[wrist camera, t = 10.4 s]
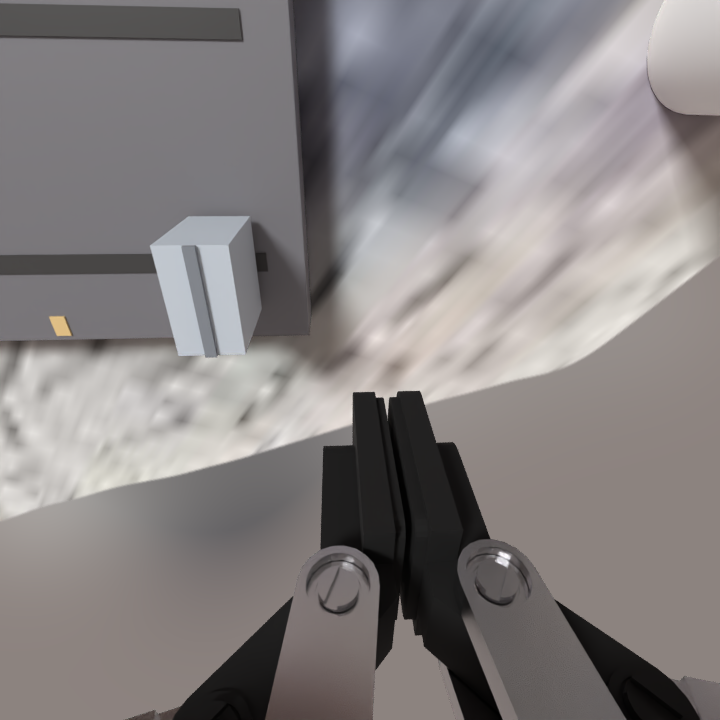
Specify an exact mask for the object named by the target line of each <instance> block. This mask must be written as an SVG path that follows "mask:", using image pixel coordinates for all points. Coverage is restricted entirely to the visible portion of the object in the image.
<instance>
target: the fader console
mask: <svg viewBox="0 0 720 720" xmlns="http://www.w3.org/2000/svg"><path fill="white" fill-rule="evenodd" d="M188 216H250V219H251V227H252V235H253V243H254V251H255V258H256V266H257V274H258V282H259V290H260V298H261V306H262V310H261V312H260V315H259V318H258V321H257V324H256V327H255V329H254V332H253V335H252V336H289V335H309V333H310V323H311V314H312V313H311V296H310V279H309V262H308V245H307V228H306V211H305V194H304V177H303V160H302V143H301V126H300V109H299V92H298V75H297V58H296V41H295V24H294V6H293V0H0V341H19V340H73V339H127V338H174V336H173V332H172V329H171V325H170V321H169V317H168V313H167V309H166V305H165V302H164V298H163V294H162V290H161V286H160V282H159V279H158V275H157V271H156V267H155V263H154V259H153V255H152V252H151V248H150V245H151V244H153V243H154V242H155V241H157V240H158V239H159V238H161V237H162V236H163V235H165V234H166V233H167V232H168V231H170V230H171V229H172V228H174V227H175V226H176V225H178V224H179V223H180V222H182V221H183V220H184V219H186V218H187V217H188Z"/></svg>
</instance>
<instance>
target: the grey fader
mask: <svg viewBox="0 0 720 720" xmlns="http://www.w3.org/2000/svg"><path fill="white" fill-rule="evenodd" d="M150 248H151V252H152V255H153V259H154V263H155V267H156V271H157V275H158V279H159V282H160V286H161V290H162V294H163V298H164V302H165V305H166V309H167V313H168V317H169V321H170V325H171V329H172V332H173V336H174V340H175V344H176V348H177V352H178V356H192V355H205V357H217V356H218V355H240V354H246V352H247V349H248V346H249V344H250V341H251V338H252V335H253V332H254V329H255V327H256V324H257V321H258V318H259V315H260V312H261V310H262V306H261V298H260V290H259V282H258V274H257V266H256V258H255V251H254V243H253V235H252V227H251V219H250V216H188V217H187V218H186V219H184V220H183V221H182V222H180V223H179V224H178V225H176V226H175V227H174V228H172V229H171V230H170V231H168V232H167V233H166V234H165V235H163V236H162V237H161V238H159V239H158V240H157V241H155V242H154V243H153V244H151V245H150Z"/></svg>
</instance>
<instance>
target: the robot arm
mask: <svg viewBox="0 0 720 720" xmlns="http://www.w3.org/2000/svg"><path fill="white" fill-rule="evenodd" d="M399 595H400V597H401V605H402V612H403V617H404V619H412V620H413V626H414V632H415V635H422V637H423V643H424V647H425V648H426V649H428V650H429V651H430V652H431V653H432V654H433V655H434V656H436V657H437V658H438V663H439V668H440V672H441V675H442V678H443V681H444V684H445V688H446V691H447V693H448V697H449V700H450V703H451V706H452V709H453V712H454V716H455V719H456V720H720V683H716V682H711V681H706V680H701V679H696V678H691V677H687V676H684V677H683V678H682V679H681V680H680V681H679V680H674V679H670V678H668V677H667V676H666V675H665V674H663V673H662V672H661V671H660V670H658V669H657V668H656V667H654V666H653V665H651V664H650V663H648V662H647V661H645V660H644V659H642V658H641V657H639V656H638V655H636V654H635V653H633V652H632V651H630V650H629V649H627V648H626V647H624V646H623V645H622V644H620V643H619V642H617V641H615V640H614V639H613V638H611V637H610V636H608V635H607V634H605V633H604V632H602V631H601V630H599V629H598V628H596V627H595V626H593V625H592V624H590V623H589V622H587V621H586V620H584V619H583V618H581V617H580V616H578V615H577V614H575V613H574V612H572V611H571V610H569V609H568V608H567V607H565V606H563V605H562V604H561V603H559V602H558V601H556V600H555V599H554V598H553V597H552V595H551V593H550V592H549V590H548V588H547V587H546V585H545V583H544V582H543V580H542V578H541V577H540V575H539V573H538V572H537V570H536V568H535V567H534V566H533V564H532V563H531V562H530V560H529V559H528V558H527V557H526V556H525V555H524V554H523V553H522V552H520V551H519V550H518V549H517V548H515V547H512V546H511V545H509V544H507V543H505V542H502V541H497V540H493V539H490V537H489V534H488V532H487V529H486V526H485V523H484V520H483V518H482V515H481V512H480V509H479V507H478V504H477V501H476V499H475V496H474V493H473V490H472V488H471V485H470V482H469V479H468V477H467V474H466V471H465V468H464V466H463V463H462V460H461V457H460V455H459V452H458V450H457V447H456V445H455V444H454V443H453V442H450V443H449V442H448V443H436V440H435V437H434V434H433V431H432V427H431V424H430V421H429V418H428V415H427V411H426V408H425V405H424V401H423V398H422V395H421V392H420V391H398V392H397V397H390V398H389V408H388V421H387V415H386V409H385V404H384V398H376V396H375V392H353V445H350V446H324V448H323V479H322V515H321V550H319V551H318V552H317V553H315V554H314V555H313V556H311V557H310V558H309V559H308V560H307V562H306V563H305V564H304V565H303V567H302V569H301V571H300V574H299V576H298V579H297V583H296V588H295V592H294V596H293V597H292V598H291V599H290V600H289V601H288V602H287V603H285V605H283V606H282V607H281V608H280V609H279V610H278V611H277V612H276V613H275V614H274V615H273V616H272V617H271V618H270V619H269V620H268V621H267V622H266V623H265V624H264V625H263V626H262V627H261V628H260V629H259V630H258V631H257V632H256V633H255V634H254V635H253V636H251V637H250V638H249V639H248V640H247V641H246V642H245V643H244V644H243V645H242V646H241V647H240V648H239V649H238V650H237V651H236V652H235V653H234V654H233V655H232V656H231V657H230V658H229V659H228V660H227V661H226V662H225V663H224V664H223V665H222V666H221V667H220V668H219V669H218V670H216V671H215V672H214V673H213V674H212V675H211V676H210V677H209V678H208V679H207V680H206V681H205V682H204V683H203V684H202V685H201V686H200V687H199V688H198V689H197V690H196V691H195V692H194V693H193V694H192V695H191V696H190V697H189V698H188V699H187V700H186V701H185V703H184V704H183V705H182V706H180V707H177V708H174V709H171V710H168V711H165V712H162V713H159V714H158V713H157V712H156V710H152V711H149V712H146V713H143V714H140V715H137V716H134V717H132V718H128V719H125V720H373V703H374V685H375V684H374V683H375V670H376V669H377V668H378V666H379V665H380V664H381V662H382V661H383V660H384V658H385V657H386V656H387V654H388V653H389V652H390V650H391V649H392V643H393V634H394V624H395V620H397V613H398V604H399Z"/></svg>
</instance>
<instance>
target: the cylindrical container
mask: <svg viewBox="0 0 720 720" xmlns="http://www.w3.org/2000/svg"><path fill="white" fill-rule="evenodd" d="M647 69H648V77H649V81H650V84H651V88H652V90H653V92H654V94H655V95H656V97H657V99H658V100H659V101H660V102H661V103H662V104H663V105H664V106H665V107H667V108H668V109H670V110H672V111H674V112H677V113H681V114H685V115H720V0H664V2H663V4H662V6H661V8H660V10H659V13H658V15H657V17H656V20H655V22H654V25H653V29H652V32H651V36H650V39H649V46H648V54H647Z"/></svg>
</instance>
